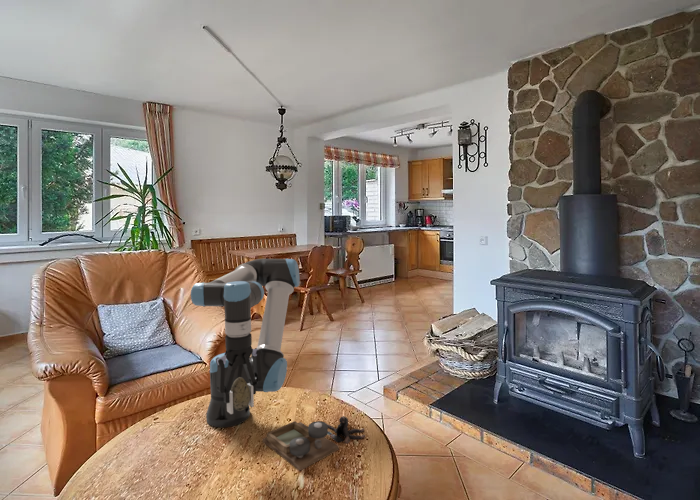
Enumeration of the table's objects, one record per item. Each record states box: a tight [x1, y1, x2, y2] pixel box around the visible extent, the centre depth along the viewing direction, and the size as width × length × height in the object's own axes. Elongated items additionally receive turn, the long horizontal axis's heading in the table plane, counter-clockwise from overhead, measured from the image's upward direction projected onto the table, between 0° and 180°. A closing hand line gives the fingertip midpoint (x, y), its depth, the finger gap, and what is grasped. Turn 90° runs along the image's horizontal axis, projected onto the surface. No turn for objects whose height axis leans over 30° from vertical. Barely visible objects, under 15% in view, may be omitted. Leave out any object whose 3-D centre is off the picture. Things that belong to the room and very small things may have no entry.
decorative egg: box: [231, 377, 250, 411], centre depth 119 cm, size 6×6×10 cm
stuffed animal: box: [326, 415, 366, 444], centre depth 133 cm, size 12×10×12 cm
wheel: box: [307, 420, 329, 438], centre depth 122 cm, size 6×6×3 cm
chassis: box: [262, 420, 340, 471], centre depth 125 cm, size 20×15×6 cm
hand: (240, 408), depth 119 cm, fingers closed on decorative egg, 6 cm apart
